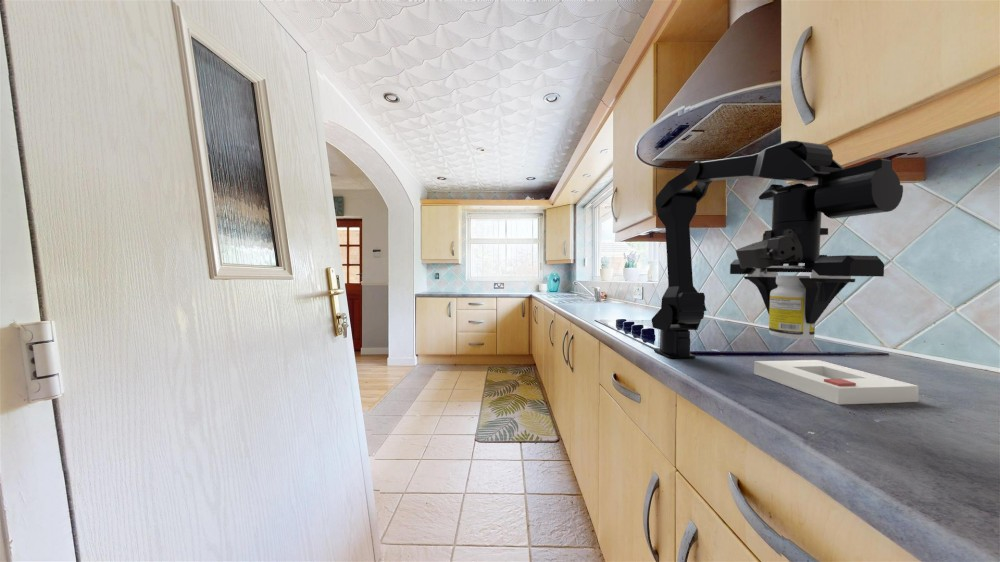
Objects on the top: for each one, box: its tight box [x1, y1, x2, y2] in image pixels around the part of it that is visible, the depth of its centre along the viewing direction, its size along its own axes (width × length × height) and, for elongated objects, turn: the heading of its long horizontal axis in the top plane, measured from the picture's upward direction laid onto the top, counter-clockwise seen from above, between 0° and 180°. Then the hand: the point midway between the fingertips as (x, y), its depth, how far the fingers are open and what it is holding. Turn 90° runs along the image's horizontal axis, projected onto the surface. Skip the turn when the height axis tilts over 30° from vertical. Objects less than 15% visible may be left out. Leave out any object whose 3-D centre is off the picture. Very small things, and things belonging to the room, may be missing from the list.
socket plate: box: [753, 359, 920, 406], centre depth 55 cm, size 14×14×3 cm
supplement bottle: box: [768, 275, 816, 340], centre depth 50 cm, size 5×5×10 cm
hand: (790, 320), depth 50 cm, fingers closed on supplement bottle, 5 cm apart
